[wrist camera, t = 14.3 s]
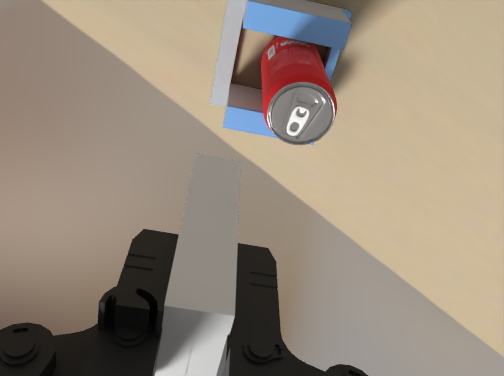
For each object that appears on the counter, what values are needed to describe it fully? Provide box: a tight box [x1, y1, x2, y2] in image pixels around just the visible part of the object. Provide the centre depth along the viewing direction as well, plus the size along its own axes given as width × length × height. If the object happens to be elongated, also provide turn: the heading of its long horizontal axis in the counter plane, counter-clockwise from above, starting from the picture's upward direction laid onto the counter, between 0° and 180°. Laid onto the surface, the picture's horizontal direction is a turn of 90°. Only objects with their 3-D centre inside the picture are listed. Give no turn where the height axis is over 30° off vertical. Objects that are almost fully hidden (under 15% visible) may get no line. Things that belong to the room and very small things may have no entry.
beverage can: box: [261, 36, 337, 145], centre depth 37 cm, size 5×5×12 cm
